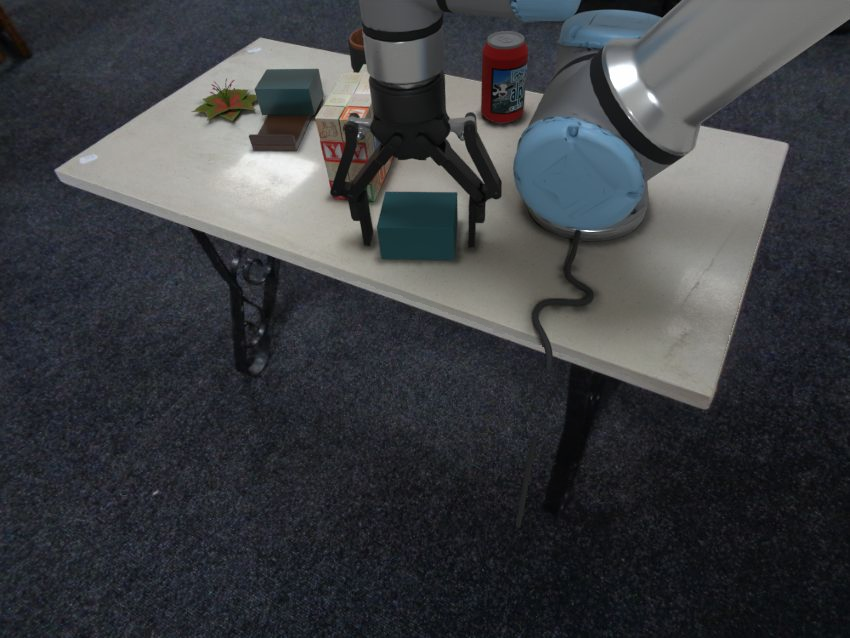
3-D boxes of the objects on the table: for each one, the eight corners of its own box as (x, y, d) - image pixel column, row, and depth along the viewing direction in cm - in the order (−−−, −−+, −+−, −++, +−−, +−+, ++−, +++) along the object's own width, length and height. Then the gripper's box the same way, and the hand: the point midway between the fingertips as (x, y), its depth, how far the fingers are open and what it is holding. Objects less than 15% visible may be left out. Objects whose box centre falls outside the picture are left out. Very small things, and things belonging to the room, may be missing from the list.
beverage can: (501, 131, 86) (505, 52, 77) (472, 115, 90) (472, 38, 81) (532, 115, 89) (539, 38, 80) (502, 100, 93) (506, 25, 84)
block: (454, 260, 68) (453, 228, 64) (381, 258, 69) (376, 227, 65) (457, 224, 72) (457, 192, 68) (389, 222, 73) (385, 191, 69)
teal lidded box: (302, 151, 86) (294, 117, 82) (247, 150, 87) (236, 118, 83) (326, 97, 97) (320, 65, 93) (276, 97, 98) (268, 66, 94)
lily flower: (224, 86, 102) (215, 61, 99) (277, 97, 98) (270, 71, 95) (179, 118, 95) (168, 92, 92) (235, 130, 91) (226, 104, 88)
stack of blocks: (371, 120, 91) (360, 42, 82) (408, 122, 90) (402, 43, 81) (331, 199, 77) (313, 116, 68) (375, 202, 76) (362, 119, 67)
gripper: (533, 52, 55) (517, 222, 71) (293, 56, 58) (331, 219, 74) (535, 89, 50) (518, 262, 66) (274, 90, 53) (318, 257, 69)
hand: (419, 239), depth 70 cm, fingers open, 12 cm apart
